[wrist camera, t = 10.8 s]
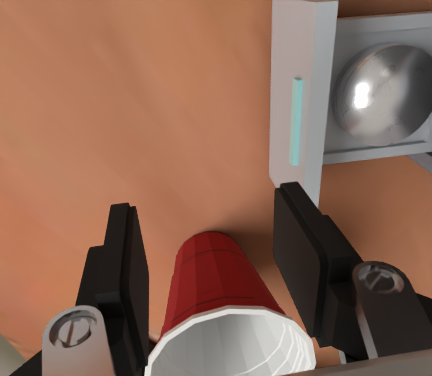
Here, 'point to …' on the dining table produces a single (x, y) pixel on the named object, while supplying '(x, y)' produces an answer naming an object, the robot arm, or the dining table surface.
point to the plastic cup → (225, 318)
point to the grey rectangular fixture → (327, 86)
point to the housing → (422, 160)
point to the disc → (384, 93)
